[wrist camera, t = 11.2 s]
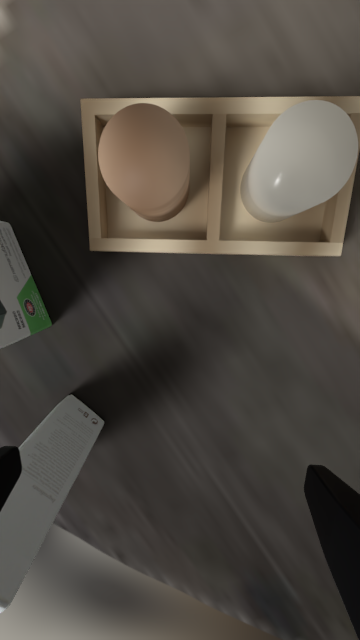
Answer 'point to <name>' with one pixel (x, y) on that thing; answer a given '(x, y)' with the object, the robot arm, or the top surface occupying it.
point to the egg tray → (212, 184)
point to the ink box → (17, 293)
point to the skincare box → (42, 487)
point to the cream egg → (300, 161)
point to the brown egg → (146, 161)
